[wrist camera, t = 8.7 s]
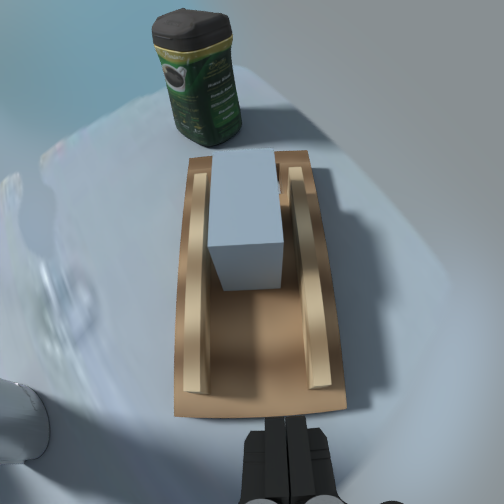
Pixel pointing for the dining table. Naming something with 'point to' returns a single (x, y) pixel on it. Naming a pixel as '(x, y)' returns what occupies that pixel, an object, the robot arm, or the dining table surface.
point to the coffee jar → (199, 73)
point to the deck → (257, 314)
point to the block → (245, 220)
